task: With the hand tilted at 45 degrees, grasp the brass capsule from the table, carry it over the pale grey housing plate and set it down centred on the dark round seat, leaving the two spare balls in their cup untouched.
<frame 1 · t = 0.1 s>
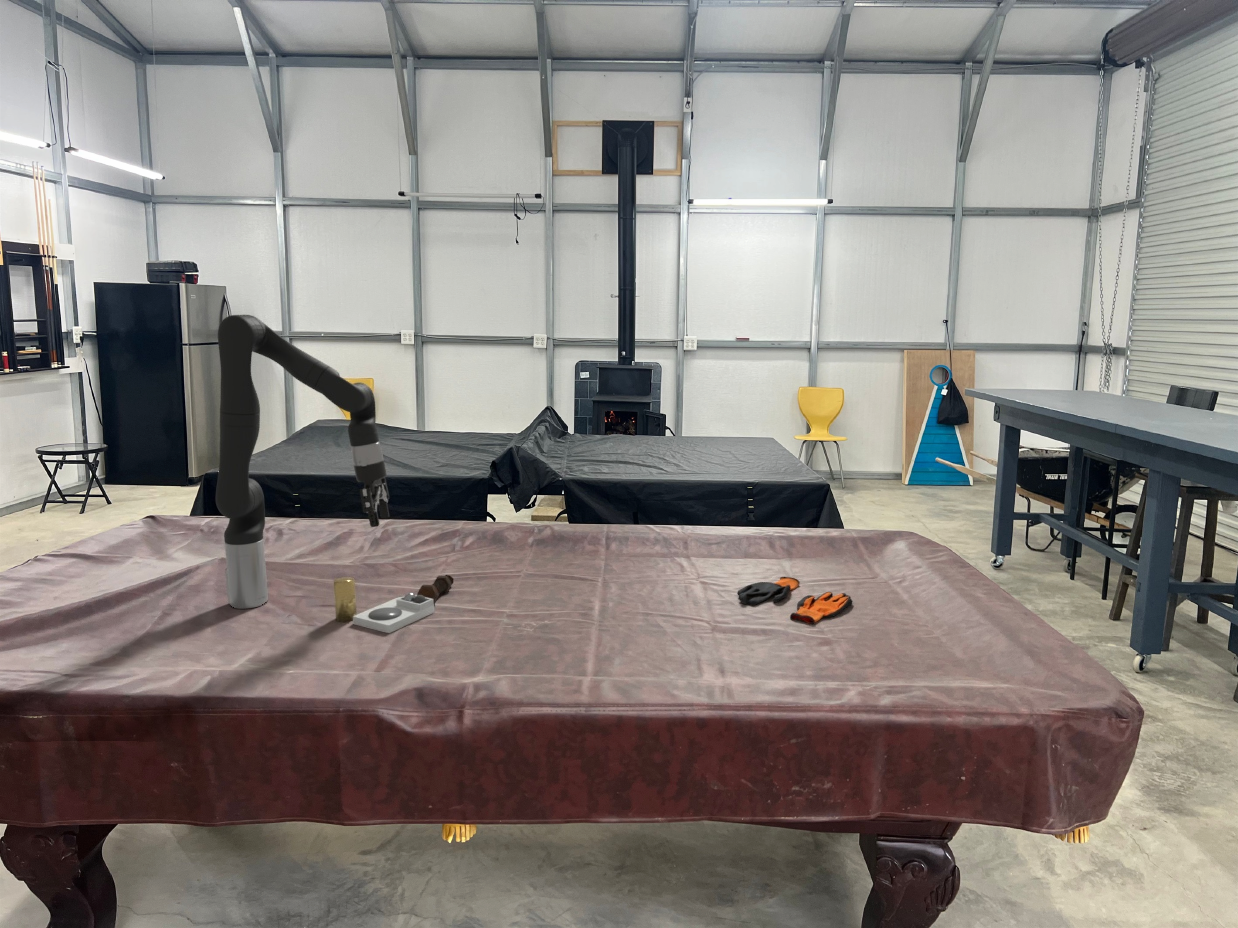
hand: (380, 521, 216), 22 cm above the table, tool pointing down, fingers open, 8 cm apart
bolt: (438, 596, 227), on the table
brass capsule: (346, 618, 210), on the table
housing plate: (394, 617, 210), on the table
rubber ball: (419, 600, 212), point 3 cm above the table, touching housing plate
steel ball: (409, 598, 214), point 3 cm above the table, touching housing plate
pair of gloves: (794, 603, 223), on the table
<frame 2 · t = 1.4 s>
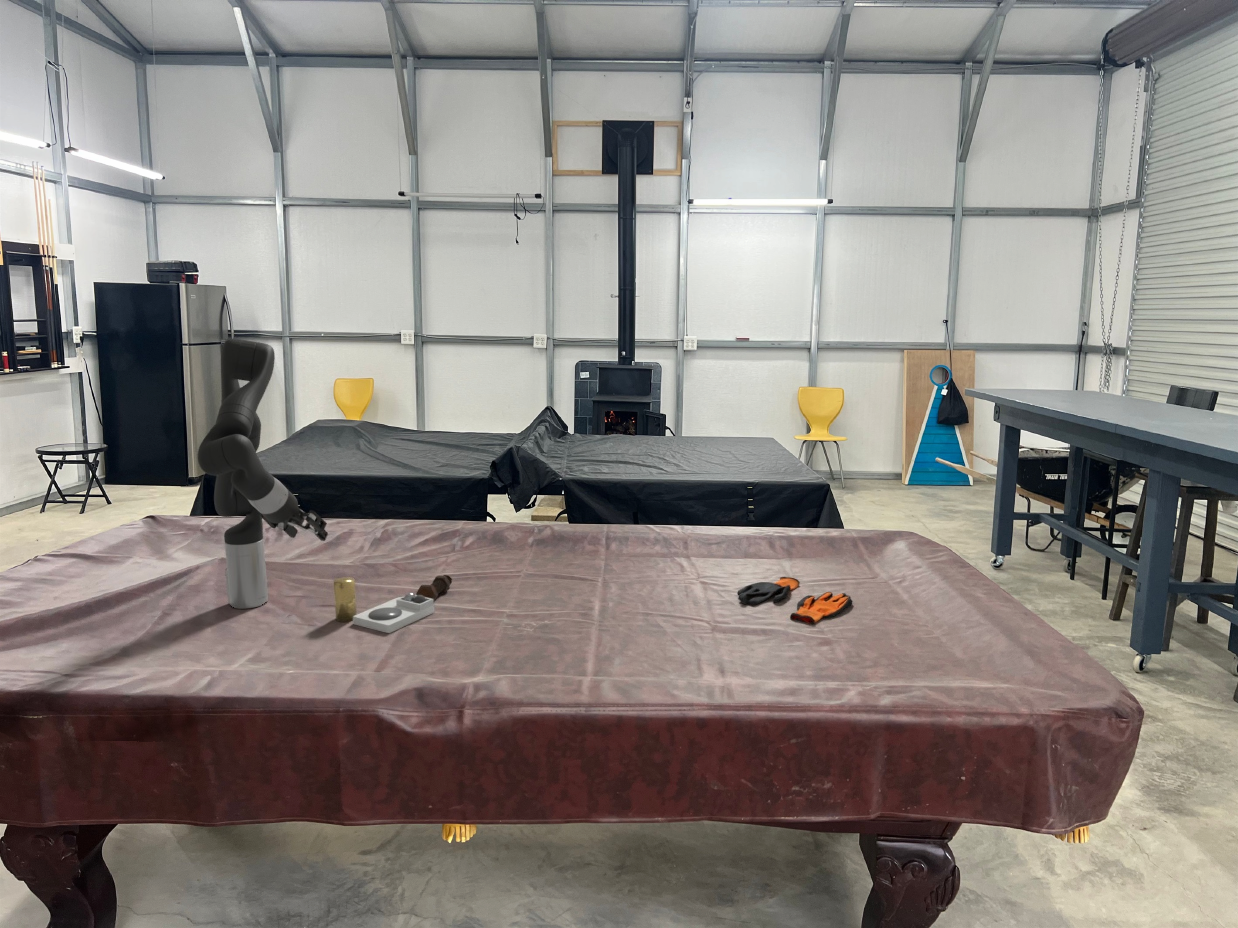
hand: (309, 535, 195), 24 cm above the table, tool tilted 45°, fingers open, 8 cm apart
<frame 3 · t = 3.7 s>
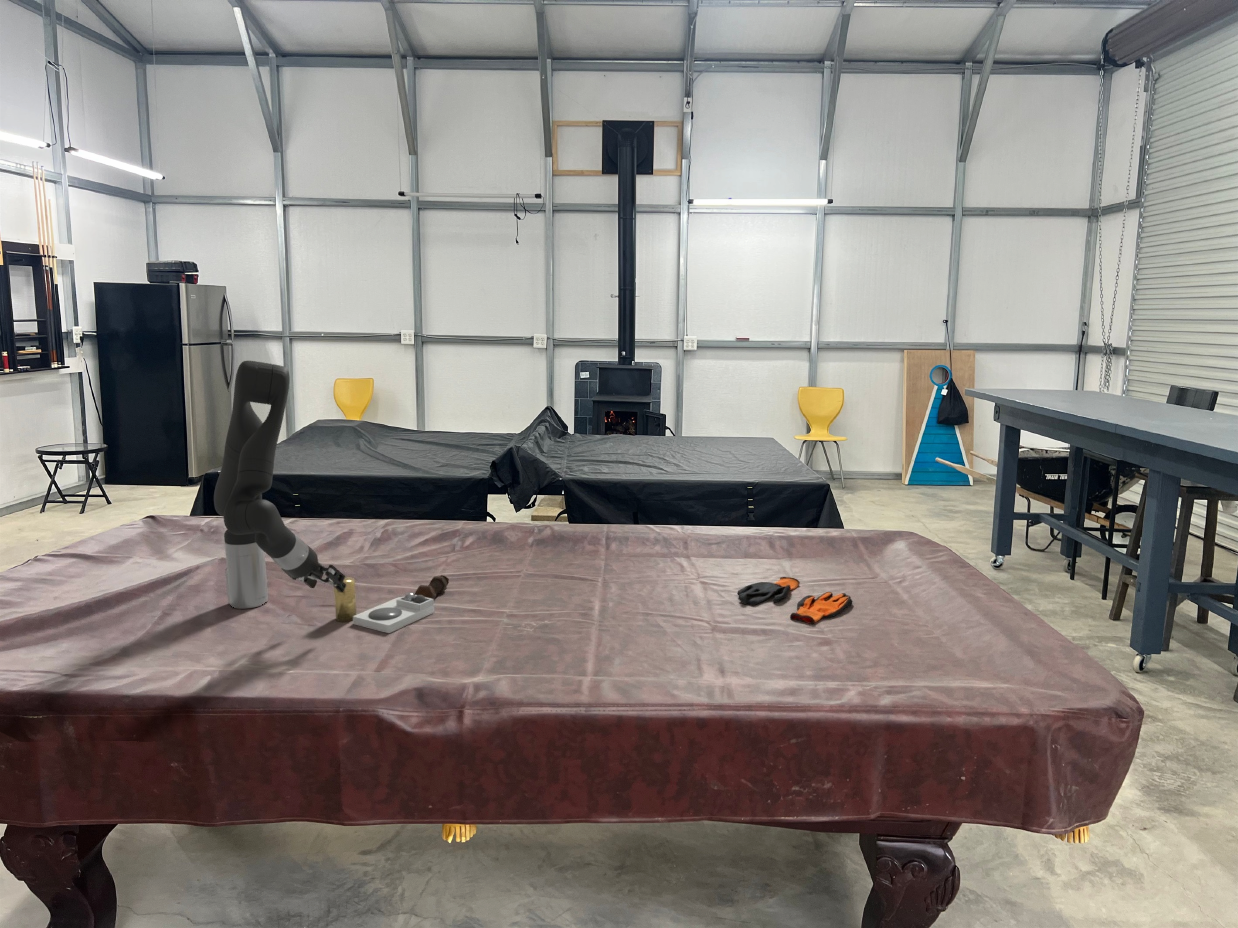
hand: (328, 586, 203), 10 cm above the table, tool tilted 45°, fingers open, 8 cm apart
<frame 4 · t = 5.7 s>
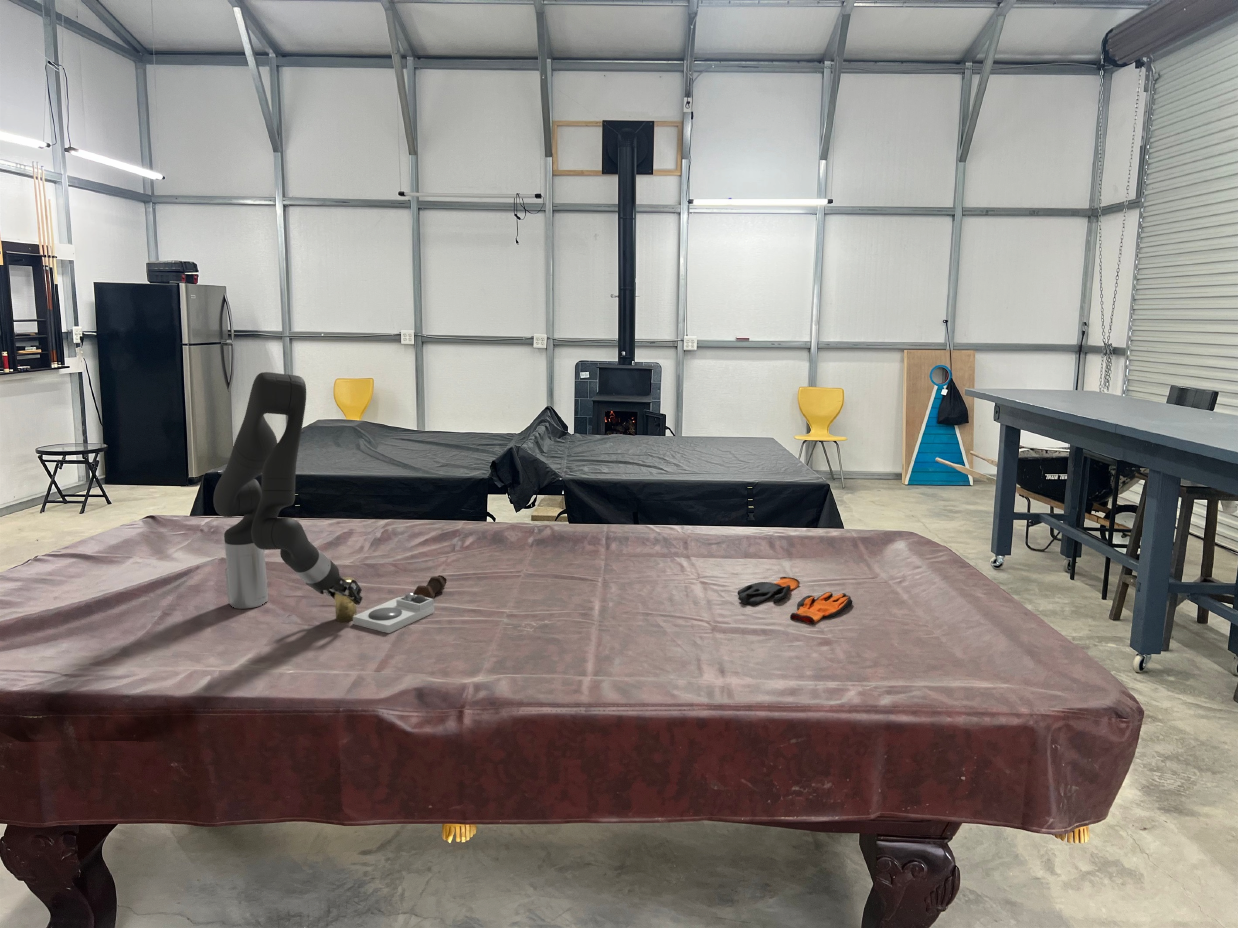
hand: (350, 599, 211), 4 cm above the table, tool tilted 45°, fingers closed on brass capsule, 5 cm apart
brass capsule: (346, 618, 210), on the table, touching gripper
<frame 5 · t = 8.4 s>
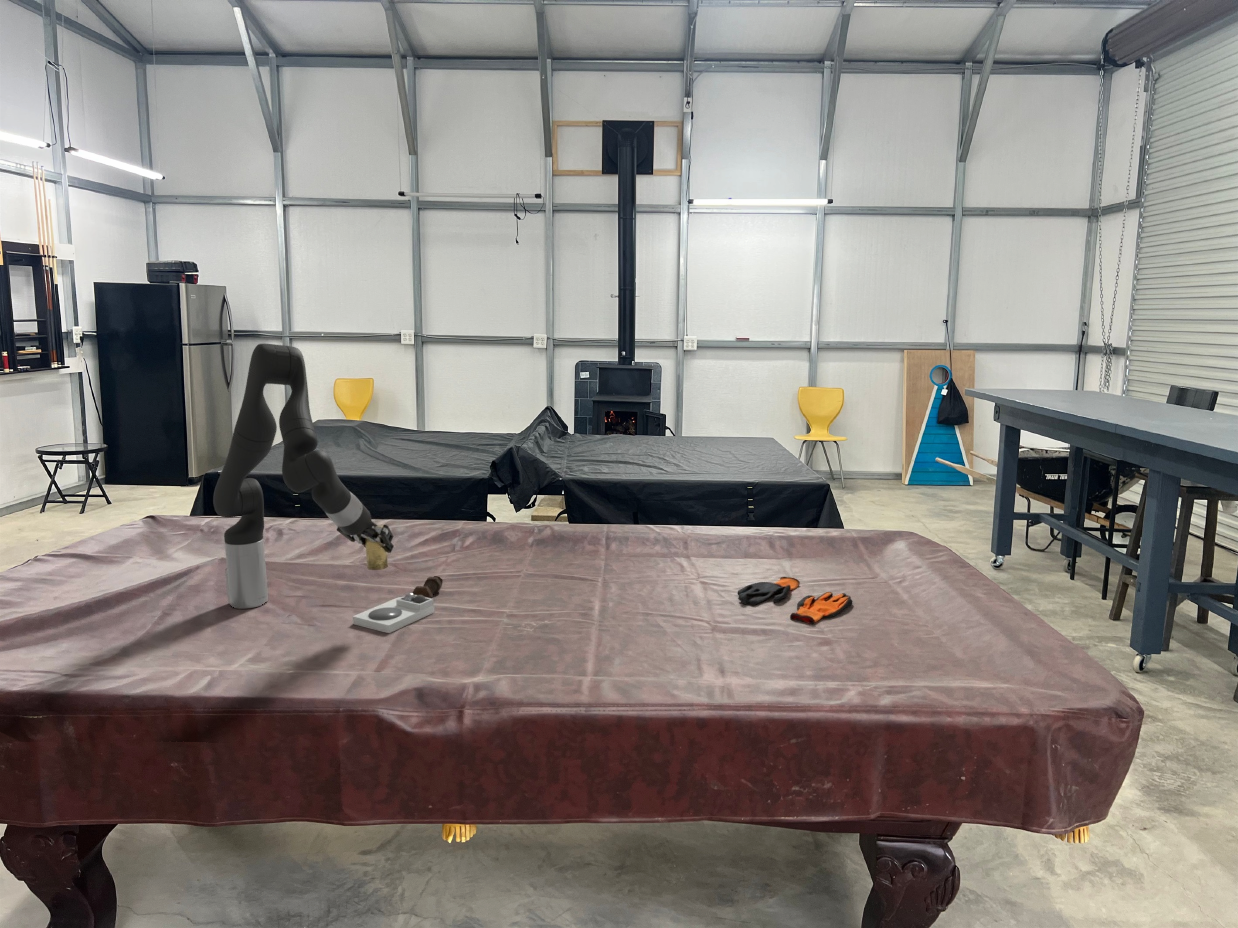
hand: (381, 548, 205), 19 cm above the table, tool tilted 45°, fingers closed on brass capsule, 5 cm apart
brass capsule: (377, 566, 204), point 14 cm above the table, touching gripper
when the fingers open (7 cm above the table, at t = 11.0 s): brass capsule stays where it is, resting on housing plate.
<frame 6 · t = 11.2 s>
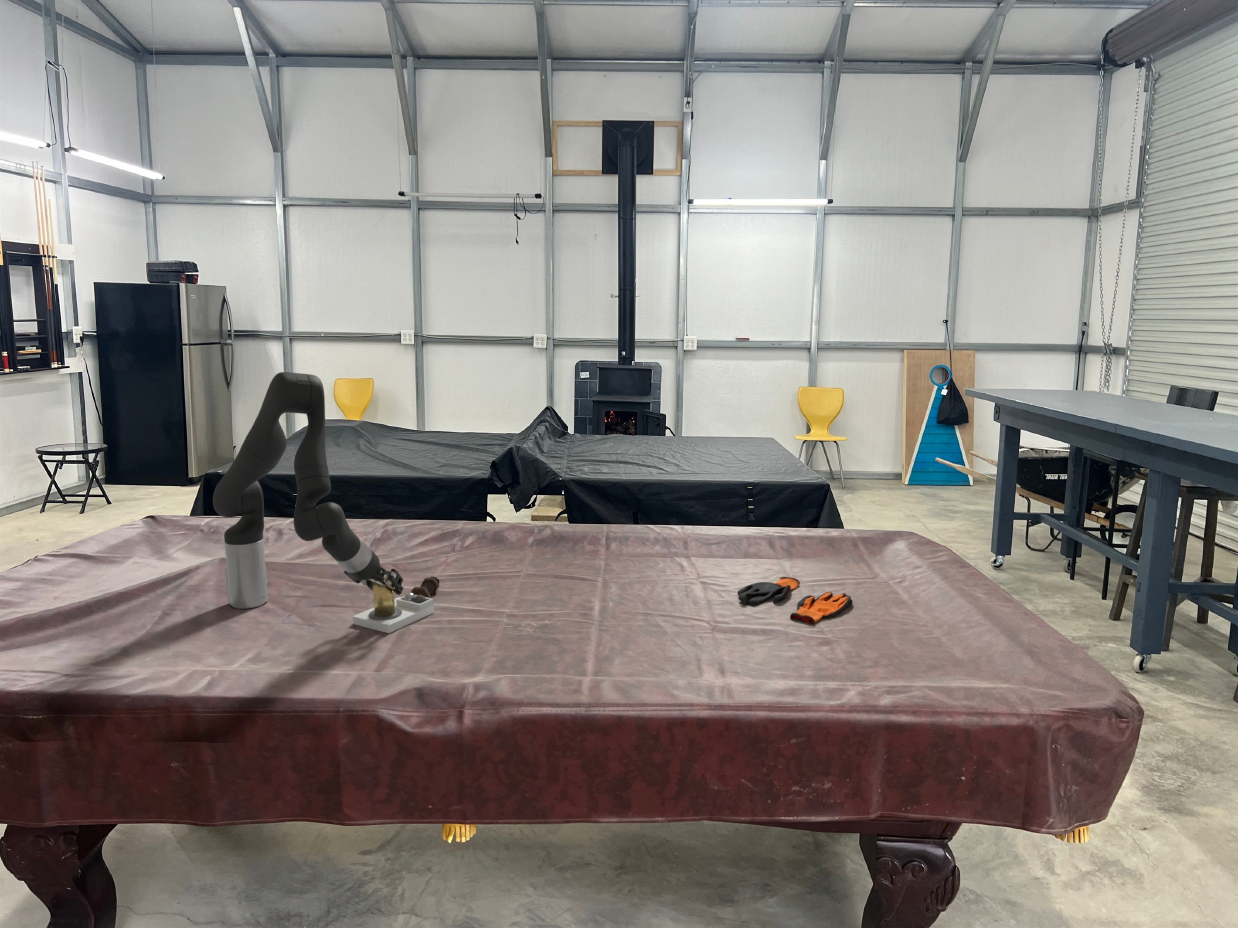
hand: (388, 589, 207), 8 cm above the table, tool tilted 45°, fingers open, 6 cm apart
brass capsule: (384, 613, 207), point 2 cm above the table, touching housing plate
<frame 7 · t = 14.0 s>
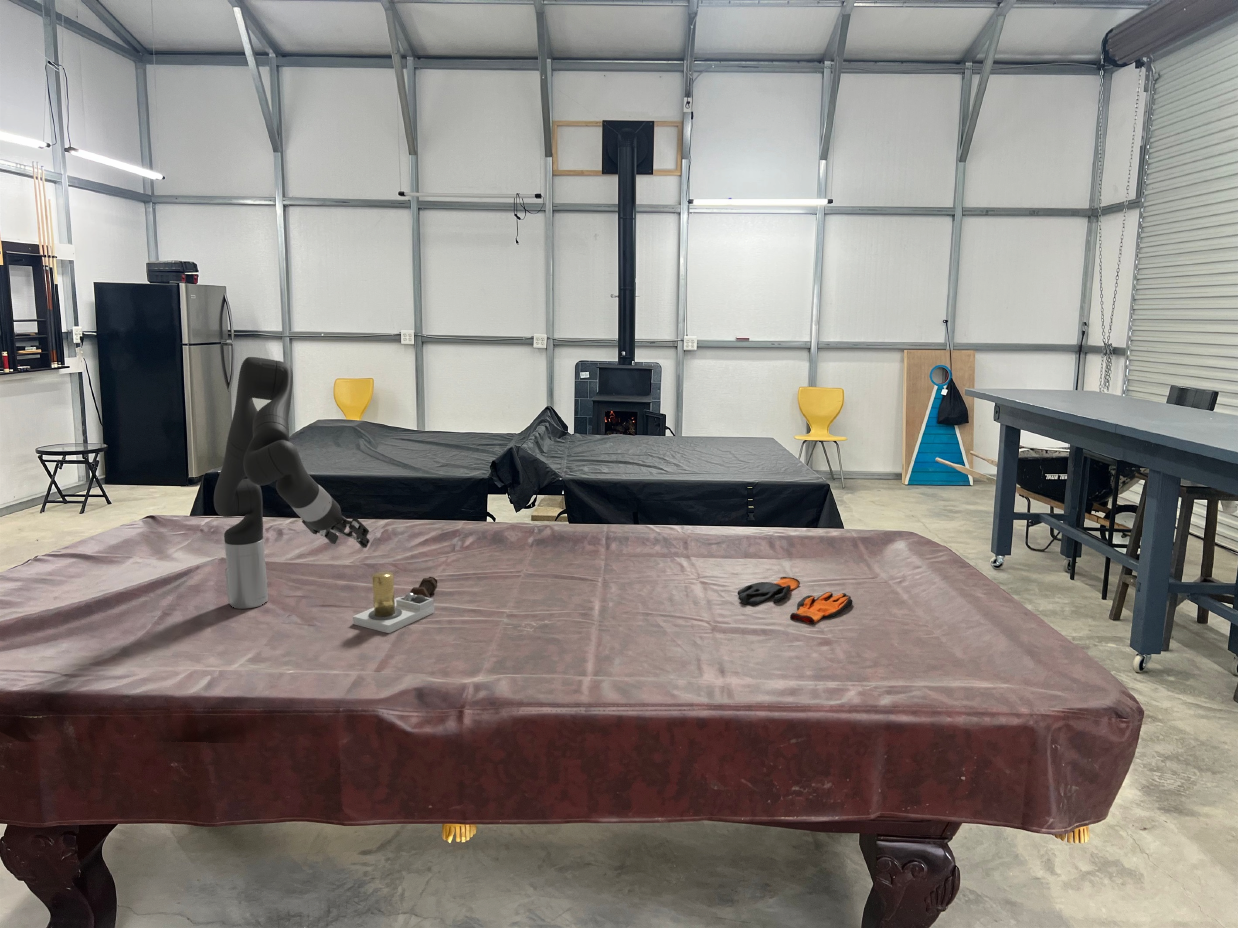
hand: (351, 542, 192), 24 cm above the table, tool tilted 45°, fingers open, 8 cm apart
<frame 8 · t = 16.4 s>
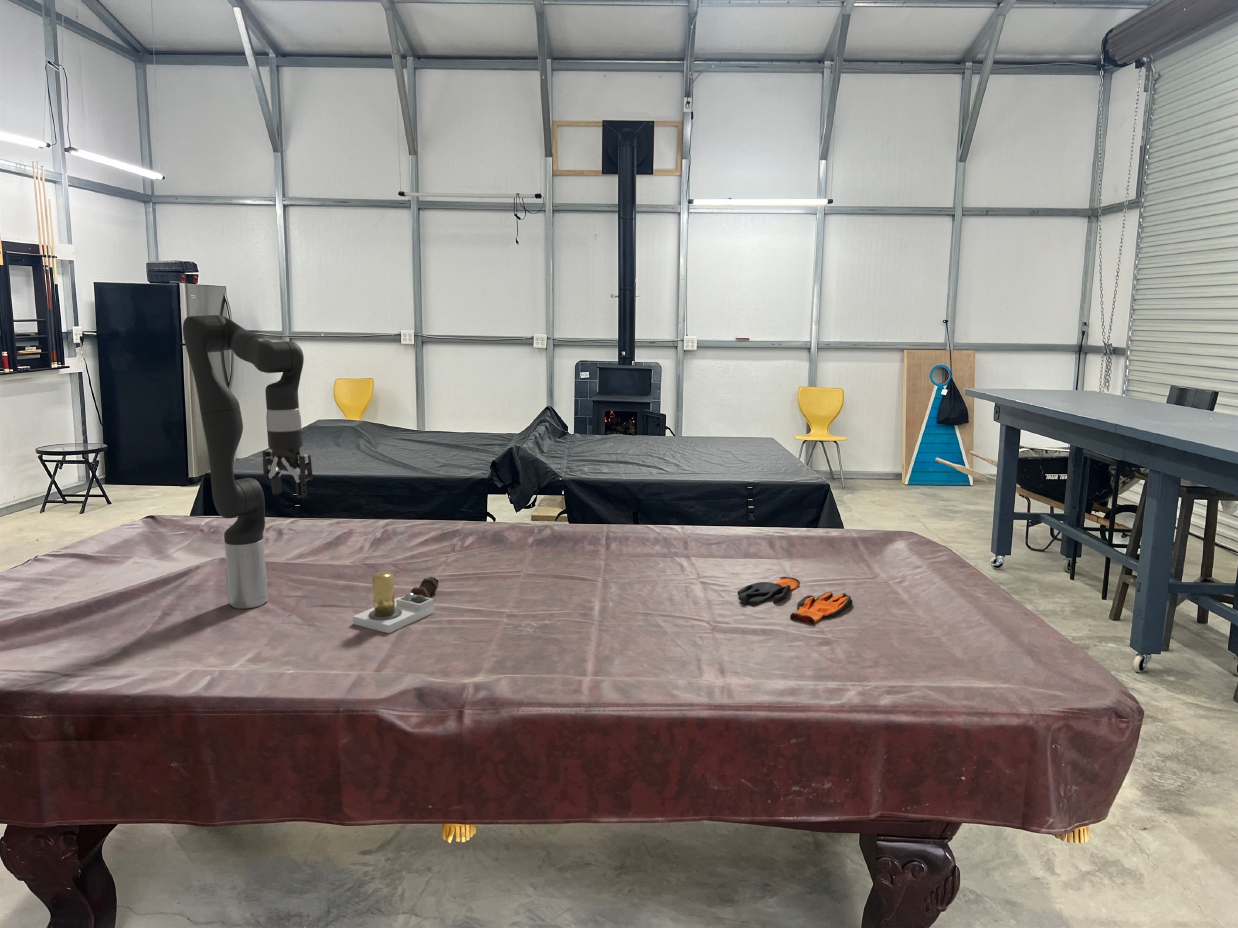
hand: (289, 495, 198), 33 cm above the table, tool pointing down, fingers open, 8 cm apart
at the end: brass capsule 0.2 cm from the target spot on the housing plate, point 2.3 cm above the housing plate's base; brass capsule tilted 0°; the gripper is holding nothing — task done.
